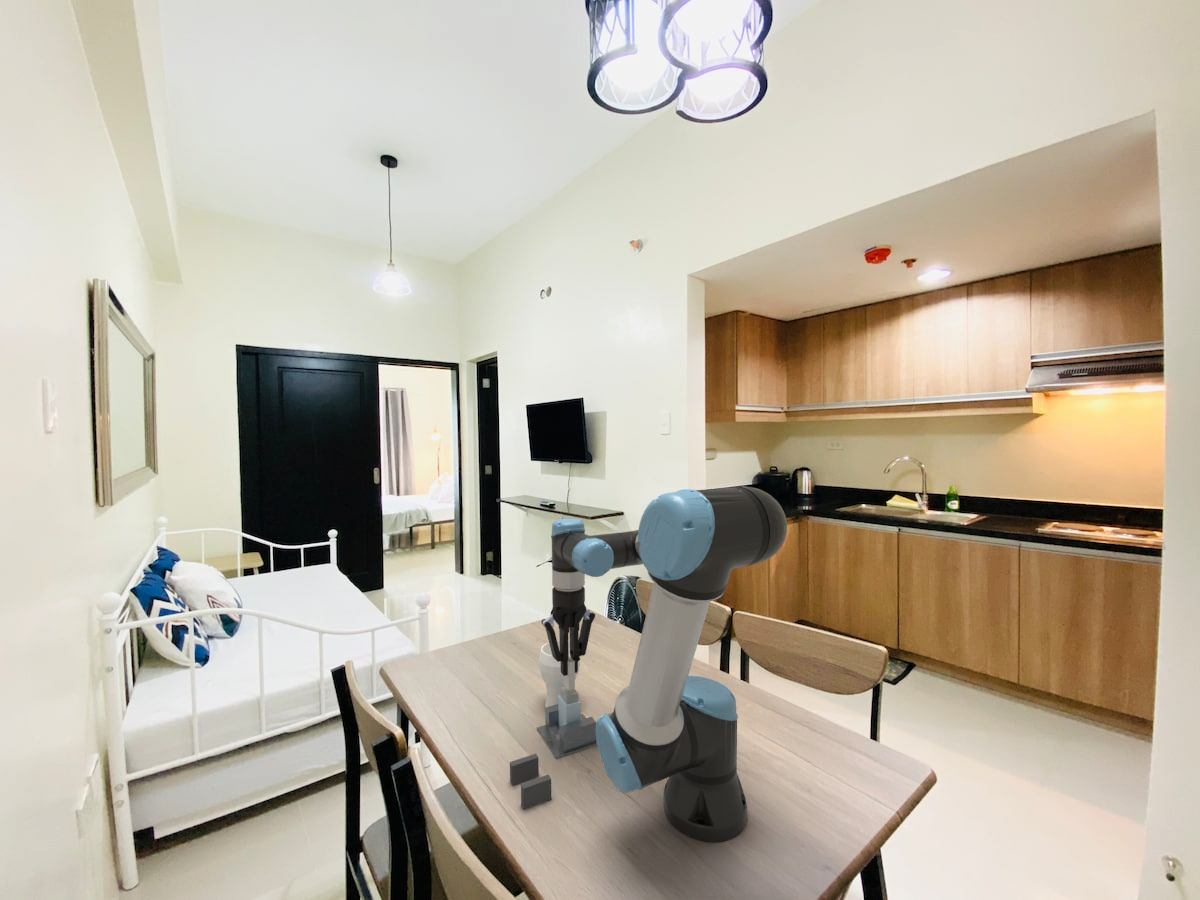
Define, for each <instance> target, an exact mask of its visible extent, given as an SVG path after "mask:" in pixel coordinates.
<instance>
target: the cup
mask: <svg viewBox="0 0 1200 900" xmlns="http://www.w3.org/2000/svg"><path fill="white" fill-rule="evenodd" d="M557 643H558V647H559V651H560V639H559V640H558V639H557ZM568 649H569V657H571V656H570V640H568ZM579 658H580V660H579V661H578V672H577V673H575V680H576V679H577V677H578V674H579V671H580V668H581V656H580V657H579ZM538 667H539V671H540V675H541V677H542V680H543V681H544V683H545V686H546V696H545V705H544V707H545V708H546V707H549V706H553V705H556V704H558V696H559V695H560V688H562V687H565V686H564V676H563V675H562V673H561V661H559V662H557V661H556V660H555V659H554V657H553V656H552V652H551V648H550V644H549V642H546V643H545V644H542V646H541V648H540V653H539V657H538Z"/></svg>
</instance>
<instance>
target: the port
mask: <svg viewBox="0 0 1200 900" xmlns="http://www.w3.org/2000/svg"><path fill="white" fill-rule="evenodd" d="M544 714H545V715H544V717H545V718H544V719H545V723H544V724H543V725H540V726H538V727H536V730H537V732H538V734H539V735H540V737H541V738H542V740H543V742H545V745H546V746H547V747H548V749H549V751H550V752H551V753H552V755H553V757H554V758H555V760H558V759H561V758H563V757H567V756H570V755H573V754H575V753H578V752H581V751H584V750H588V749H590V748H593V747H596V746H598V745H597V740H596V722H597V720H595V719H594V718H593V717H592V716H589V717H586V716H585V715H584V714H583V713H581V720H579V721H576V722H573V723H569V724H566V725H563V726H560V727H559V720H558V704H556V705H553V706H549V707H545V708H544Z"/></svg>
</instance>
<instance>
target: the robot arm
mask: <svg viewBox="0 0 1200 900" xmlns="http://www.w3.org/2000/svg"><path fill="white" fill-rule="evenodd" d="M638 525H639V526H638V529H636V530H635V529H634V530H630V531H623V532H612V533H605V534H604V533H602V534H594V535H592V534H591V535H588V534H586V529H585V523H584V521H583V520H582V519H578V518H561V519H556V520H555V521H553V522H552V525H551V535H550V539H551V573H552V575H551V577H552V578H551V579H552V580H551V582H552V584H551V585H552V589H551V592H552V593H551V594H552V595H551V596H552V597H551V598H552V599H551V600H552V601H551V603H552V608H551V611H550V615H549V616H548V617H547V618H546V619H545V618H543V619H542V620H541V623H540V624H542V625H543V627H544V628H545V629H544V630H545V631H546V635H547V639H548V643H549V644H550V648H551V652H552V656H553V657H554V659H555V660H556V661H557V662H559V661H561V673H562V675H563V676H564V686H565V687H566V688H567V689H568V690H569V691H570V690H574V689H575V690H576V679H575V673H577V672H578V673H579V671H578V661H579V660H580V661H581V657H582V656H585V655H586V653H587V648H588V643H589V638H590V633H591V629H592V623H593V622H594V620H595V618H596V613H594V612H592V610H589V609H587V606H586V605H585V604H586V603H585V602H586V588H585V587H584V586H585V583H586V581H585V579H586V577H585V576H590V577H591V578H592V577H593V578H599V577H602V576H604V575H605V574H606V573H609V571H610V570H613V569H620V568H624V567H632V566H639V565H643V566H644V567H645V570H646V571H647V575H648V576H649V579H650V580H651V581H652V582H653V585H652V589H651V593H650V597H649V602H648V606H647V610H646V615H645V619H644V623H643V626H642V627H643V628H642V630H641V631H642V632H641V636H640V640H639V643H638V647H637V651H636V656H635V658H634V659H635V661H634V664H633V668H632V672H631V677H630V681H629V685H627V686H626V687H625V688H623V689H622V690H621V691H620V692H619V694H618V695H617V697H616V700H615V705H614V707H613V712H611V713H604V714H603V715H601V716H599V717H598V718H597V720H596V740H597V745H596V746H597V749H598V752H599V756H600V759H601V762H602V765H603V768H604V770H605V773H606V774H607V777H608V778H609V781H610V782H611V783H612V784H613V786H614V788H616V790H618V791H619V792H621V793H623V794H624V793H625V794H626V793H630V792H633V791H637V790H639V791H640V790H643V788H645V787H648V786H650V785H653V784H655V783H658V782H660V781H662V780H666V779H667V780H666V782H665V785H664V787H663V788H664V789H663V810H664V813H665V816H666V817H667V819H668V821H669V822H670V823H671V825H673V826H674V828H676V829H677V830H678V831H679V832H681V833H682V834H684V835H686V836H687V837H690V838H692V839H695V840H699V841H703V842H709V843H710V842H711V843H712V842H713V843H716V842H717V843H718V842H725V841H727V840H728V841H729V840H731V839H733V838H735V837H736V836H738V835H739V834H740V833H741V832H742V831H743V830H744V828H745V827H746V824H747V818H748V804H747V803H748V802H747V799H746V796H745V792H744V790H743V786H742V783H741V781H740V777H739V774H738V770H737V769H738V768H737V767H738V766H737V765H738V759H737V755H738V753H737V752H738V751H737V750H738V719H739V716H738V712H737V700H736V698H735V695H734V693H733V692H732V690H730V688H729V687H727V686H725V684H722V683H721V682H719V681H716V680H713V679H711V678H709V677H708V678H707V677H704V676H697V675H690V671H691V667H692V664H693V661H694V657H695V654H696V652H697V651H696V650H697V647H698V645H699V644H698V643H699V641H700V637H701V634H702V631H703V627H704V623H705V621H706V618H707V613H708V611H709V607H710V603H711V602H713V601H717V600H718V599H720V598H721V597H722V596H723V595H724V593H725V591H726V589H727V586H728V582H729V579H730V575H731V574H732V573H731V572H733V571H732V570H734V569H737V568H739V569H740V568H743V567H749V566H754V565H758V564H761V563H764V562H766V561H768V560H770V559H771V558H773V557H774V556H775V555H776V554H777V553H778V552H779V551H780V549H782V547H783V545H784V543H785V540H786V539H787V538H786V537H787V534H788V522H787V517H786V514H785V511H784V510H783V508H782V506H781V504H780V503H779V501H778V500H777V499H775V498H774V497H773V496H772V495H771V494H769V493H767V492H766V491H764V490H762V489H761V488H756V487H750V486H745V485H744V486H743V485H741V486H740V485H739V486H734V487H733V486H732V487H720V488H708V489H706V488H705V489H691V488H686V489H685V488H684V489H680V490H677V491H672V492H665V493H663V494H660V495H658V496H657V497H655V498H654V499H652V500H651V501H650V502H649V503H648V504H647V506H646V508H645V509H644V511H643V513H642V515H641V518H640V520H639V524H638ZM554 621H555V623H556V624H557V625H558V631H559V640H560V651H559V647H558V643H557V641H558V639H557V635H556V631H555V629H554V627H555V623H554ZM580 623H581V626H580ZM568 641H570V656H571V657H569V649H568ZM579 657H580V658H579Z"/></svg>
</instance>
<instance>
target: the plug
mask: <svg viewBox="0 0 1200 900" xmlns="http://www.w3.org/2000/svg"><path fill="white" fill-rule="evenodd" d="M581 707H582V706H581V701H580V700H579V692H578V691H577V690H576V688H575V689H574V690H570V691H569V690H568V689H567V688H566V687H562V688H560V695H559V696H558V720H559V727H560V726H563V725H566V724H569V723H573V722H576V721H579V720H581V714H582V713H581V709H582V708H581Z"/></svg>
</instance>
